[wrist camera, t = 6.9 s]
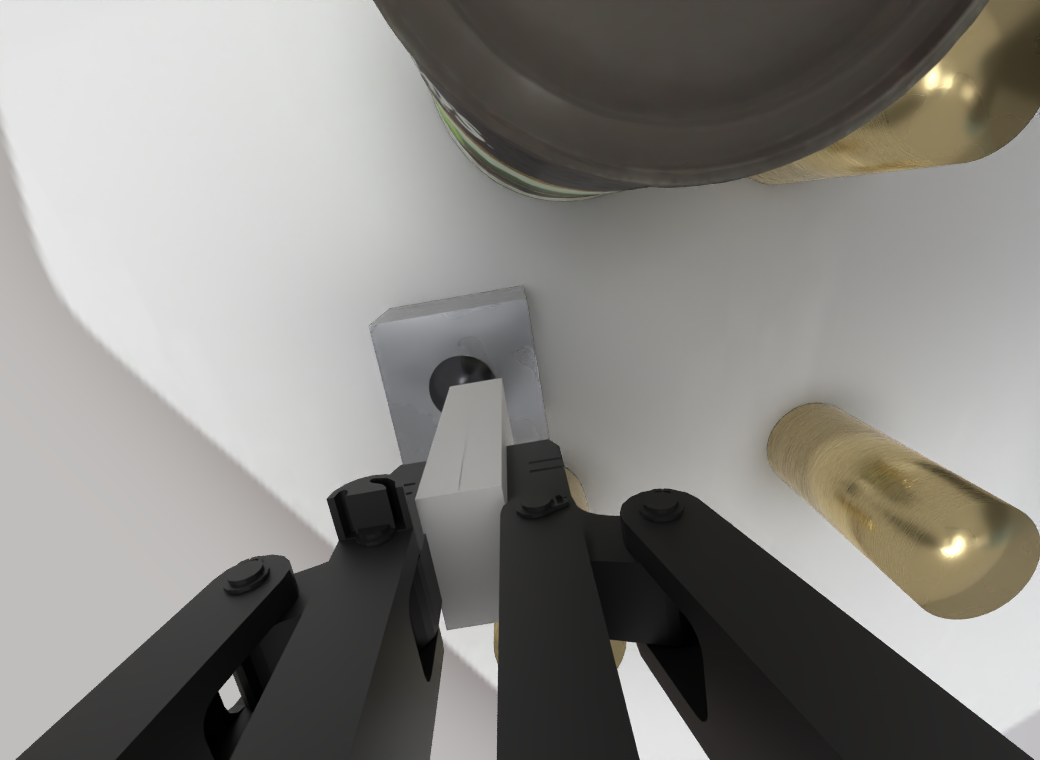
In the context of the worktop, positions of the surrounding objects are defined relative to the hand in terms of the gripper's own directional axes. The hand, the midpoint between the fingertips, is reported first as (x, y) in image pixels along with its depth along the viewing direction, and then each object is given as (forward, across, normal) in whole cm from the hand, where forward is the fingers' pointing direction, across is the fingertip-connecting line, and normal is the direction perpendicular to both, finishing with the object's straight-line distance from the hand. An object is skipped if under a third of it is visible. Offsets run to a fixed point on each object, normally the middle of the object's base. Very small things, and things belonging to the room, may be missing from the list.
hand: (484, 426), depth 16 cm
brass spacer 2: (+8, -14, +6) cm, 17 cm away
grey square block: (+8, +1, 0) cm, 8 cm away
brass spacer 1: (+8, -13, -7) cm, 16 cm away
